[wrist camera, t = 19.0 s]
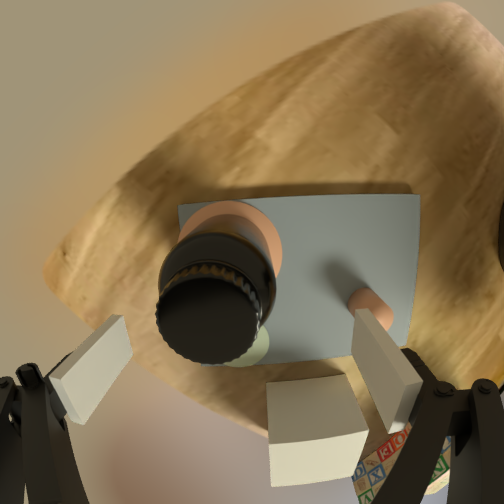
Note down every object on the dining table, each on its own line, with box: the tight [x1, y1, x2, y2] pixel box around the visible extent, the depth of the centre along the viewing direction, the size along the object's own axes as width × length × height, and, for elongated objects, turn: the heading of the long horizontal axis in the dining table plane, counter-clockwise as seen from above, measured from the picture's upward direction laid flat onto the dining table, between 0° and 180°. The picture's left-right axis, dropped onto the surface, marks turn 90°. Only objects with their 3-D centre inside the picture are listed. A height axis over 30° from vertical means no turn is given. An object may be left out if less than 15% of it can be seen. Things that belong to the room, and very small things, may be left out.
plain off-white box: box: [266, 374, 369, 487], centre depth 25 cm, size 9×9×9 cm
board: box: [177, 194, 420, 367], centre depth 23 cm, size 22×16×5 cm
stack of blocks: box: [351, 422, 451, 504], centre depth 26 cm, size 21×6×12 cm, turn 146°
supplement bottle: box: [155, 214, 277, 365], centre depth 18 cm, size 7×7×12 cm
